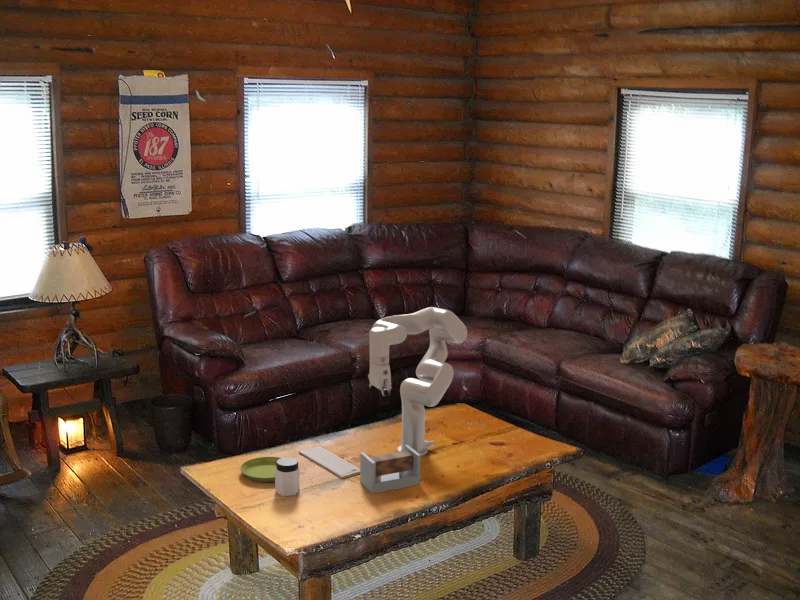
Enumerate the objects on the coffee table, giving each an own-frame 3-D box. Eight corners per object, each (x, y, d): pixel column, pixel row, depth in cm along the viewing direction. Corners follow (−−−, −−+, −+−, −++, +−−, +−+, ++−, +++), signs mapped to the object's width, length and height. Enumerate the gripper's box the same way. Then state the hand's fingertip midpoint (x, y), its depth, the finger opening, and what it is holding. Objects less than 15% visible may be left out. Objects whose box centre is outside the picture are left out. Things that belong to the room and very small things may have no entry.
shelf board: (405, 465, 355) (406, 450, 354) (411, 469, 351) (412, 455, 350) (368, 471, 348) (368, 457, 347) (374, 476, 344) (374, 462, 342)
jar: (276, 497, 337) (276, 466, 334) (274, 487, 344) (274, 457, 342) (300, 495, 339) (300, 465, 336) (298, 485, 346) (298, 456, 344)
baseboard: (323, 447, 384) (299, 454, 377) (323, 441, 384) (299, 448, 376) (367, 472, 361) (342, 480, 354) (367, 465, 360) (342, 473, 353)
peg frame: (406, 473, 360) (407, 444, 357) (419, 484, 350) (420, 455, 347) (360, 482, 351) (360, 452, 348) (372, 493, 341) (372, 463, 339)
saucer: (304, 476, 356) (304, 468, 355) (259, 490, 342) (259, 482, 342) (274, 459, 371) (274, 451, 370) (230, 472, 358) (230, 464, 357)
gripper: (398, 364, 348) (398, 406, 352) (377, 351, 362) (377, 392, 367) (381, 367, 344) (381, 409, 349) (360, 354, 359) (360, 395, 363)
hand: (379, 400), depth 358 cm, fingers open, 9 cm apart
